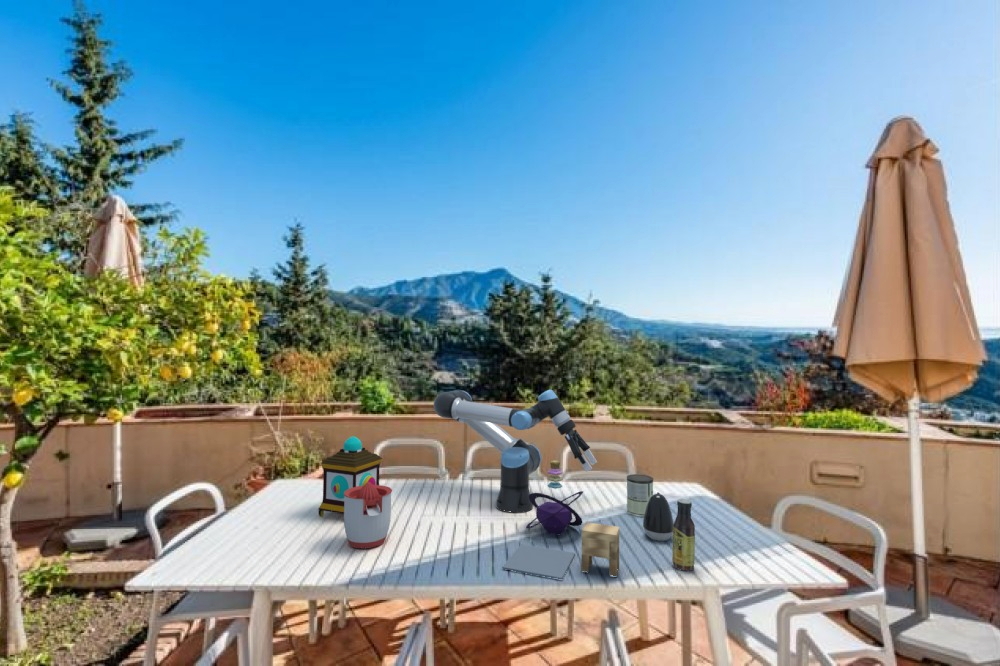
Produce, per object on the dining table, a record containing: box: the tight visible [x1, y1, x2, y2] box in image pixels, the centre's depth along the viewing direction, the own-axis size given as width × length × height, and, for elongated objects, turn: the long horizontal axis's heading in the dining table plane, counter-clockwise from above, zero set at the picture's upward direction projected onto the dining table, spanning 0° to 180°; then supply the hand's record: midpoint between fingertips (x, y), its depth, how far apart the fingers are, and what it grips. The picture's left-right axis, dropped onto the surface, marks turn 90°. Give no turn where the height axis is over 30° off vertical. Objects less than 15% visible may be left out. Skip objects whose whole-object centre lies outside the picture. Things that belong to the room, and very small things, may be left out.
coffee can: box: [626, 473, 654, 518], centre depth 191 cm, size 10×10×14 cm
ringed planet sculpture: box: [524, 459, 584, 535], centre depth 170 cm, size 22×21×25 cm
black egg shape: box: [642, 491, 674, 542], centre depth 164 cm, size 10×10×15 cm
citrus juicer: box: [343, 482, 393, 549], centre depth 157 cm, size 16×17×20 cm
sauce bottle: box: [671, 498, 696, 571], centre depth 142 cm, size 6×6×20 cm
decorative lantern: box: [318, 436, 383, 518], centre depth 186 cm, size 20×20×30 cm
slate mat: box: [501, 543, 576, 580], centre depth 144 cm, size 18×18×1 cm
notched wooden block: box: [581, 521, 620, 577], centre depth 140 cm, size 10×7×12 cm
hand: (592, 467), depth 197 cm, fingers open, 13 cm apart
